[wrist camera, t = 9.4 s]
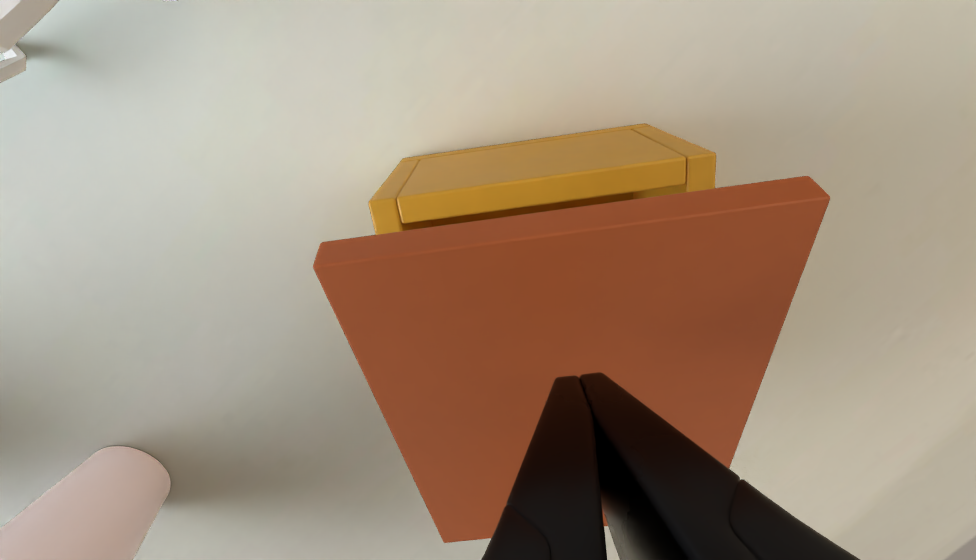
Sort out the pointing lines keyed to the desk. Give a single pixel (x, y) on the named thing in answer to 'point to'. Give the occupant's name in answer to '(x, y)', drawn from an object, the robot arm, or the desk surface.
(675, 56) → the desk surface
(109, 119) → the desk surface
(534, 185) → the lunchbox
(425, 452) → the lunchbox lid
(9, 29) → the white angular stand
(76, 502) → the smoothie
